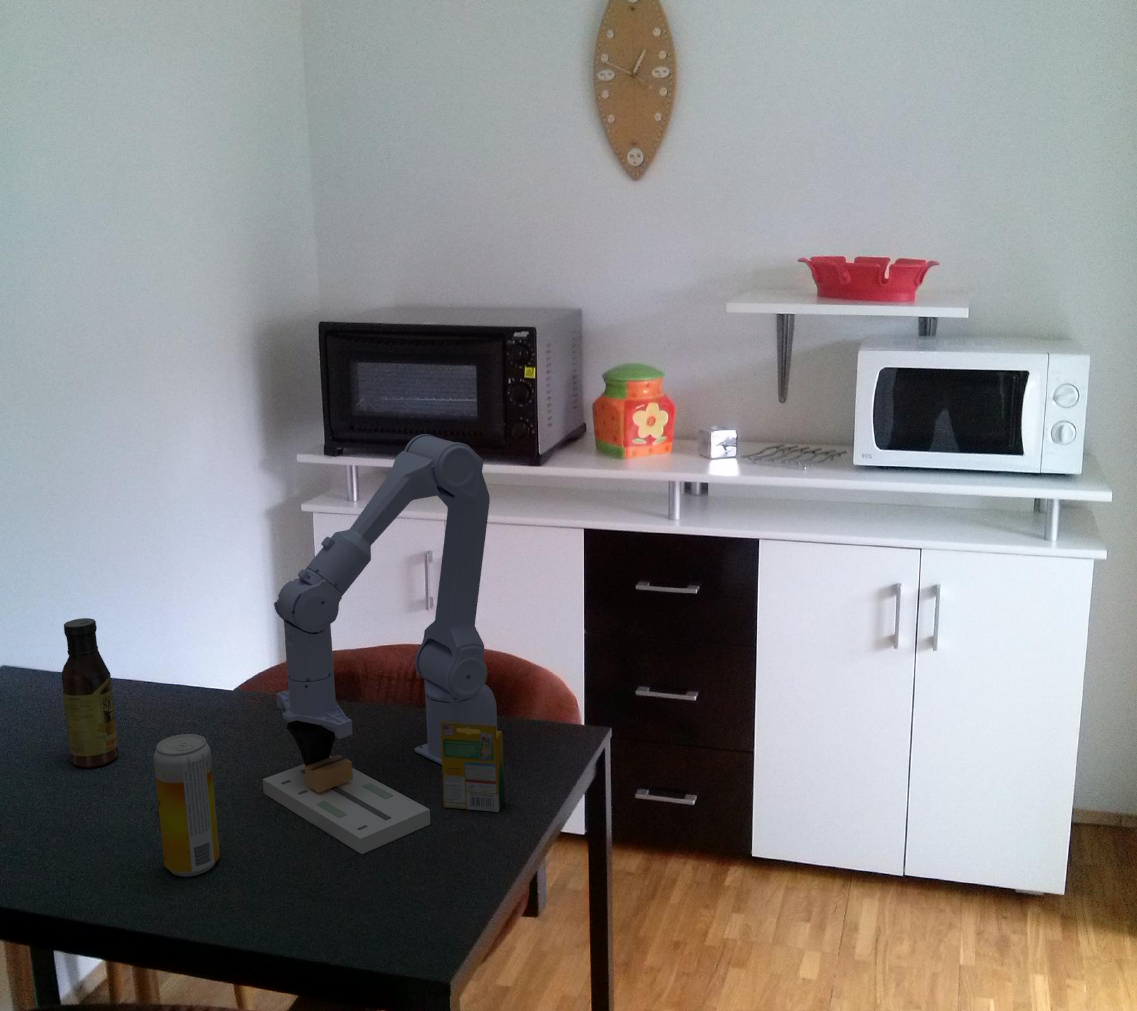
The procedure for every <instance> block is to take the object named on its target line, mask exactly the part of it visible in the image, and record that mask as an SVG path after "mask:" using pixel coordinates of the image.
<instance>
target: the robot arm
mask: <svg viewBox="0 0 1137 1011" xmlns="http://www.w3.org/2000/svg"><path fill="white" fill-rule="evenodd" d="M483 468H484V460H483V459H482V458H481V456H479V454H478V453H476V452H475V450H474V449H472V447H471V446H469V445H468V444H466V443H463V442H459V441H457V442H454V441H451V440H447V439H443V438H440V437H436V436H435V435H432V434H427V433H425V434H424V433H423V434H419V435H417V436H414V437H413V438H412V439H410V440H409V442H408V443H407V444H406V446H405V448H404V450H402V451H401V452H400V453H399V454H397V455H396V456H395V458H394V461H393V465H392V467H391V470H390V472H389V473H388V475H387V476H386V477H385V479H384V481H383V482H382V483H381V485H380V486H379V488H378V489H377V490H376V491H375V493H374V494H373V496H372V497H371V499H370V500H369V501H368V502H367V504H366V506H365V507H364V508H363V509H362V511H361V512H360V514H359V515H358V517H357V518H356V520H354V522H353V524H352V525H351V526H350V527H349V529H346V530H345V529H344V530H341V531H336V532H334V533H333V534H332V536H331V537H330V536H326V537H325V538H324V539H323V540H322V541H321V543H320V545H321V546H322V548H321V549H320V550H319V551H318V553H316V555H315V556H314V557H313V559H312V560H311V561H310V563H309V564H308V565H307V566H306V568H305V569H304V568H302V569H301V570H300V571H299V572H298V573H297V576H298V577H297V578H294V579H293V580H289V581H288V582H286V583H285V584H284V585H283V586H282V587H281V589H280V590H279V592H278V595H277V597H278V599H277V600H276V601H274V602H273V606H274V610H275V612H276V614H277V615H278V617H279V618H280V619H282V620H283V621H282V622H283V628H284V643H285V644H284V645H285V660H286V662H285V663H286V671H287V672H286V673H287V674H286V675H287V687H288V688H287V690H283V691H279V692H277V693H276V705H277V708H279V709H281V710H284V709H285V711H284V712H282V714H281V715H282V719H283V720H285V721H287V722H288V723H287V724H286V729H287V730H288V731H289V733H290V735H291V736H292V737H293V739H294V741H295V743H296V746H297V747H298V749H299V752H300V754H301V757H302V761H303V764H305V766H308V765H311V764H313V763H316V762H319V761H322V760H324V759H327V758H330V756H331V754H332V749H333V745H334V742H335V740H336V739H338V740H340V739H344V738H346V737H349V736H352V735H354V734H353V721H352V719H350V718H349V717H348V716H346V714H345V713H344V711H343V709H342V708H341V707H340V705H339V703H338V702H337V701H336V700H337V699H336V689H335V688H336V687H335V686H336V685H335V670H334V659H333V658H334V654H333V653H334V652H333V641H332V639H333V638H332V626H331V624H332V623H334V622H335V621H336V620H337V619H338V618H337V617H338V615H339V610H340V601H342V599H343V596H345V593H346V592H347V591H348V590H349V589H350V588H351V586H352V585H353V583H354V582H355V581H356V580H357V579H358V577H359V576H360V575H361V574H362V572H363V571H364V570H365V569H366V567H367V566H368V565H369V563H370V562H371V560H372V545H373V544H374V543H375V542H376V541H377V540H378V539H379V537H380V536H381V535H382V534H383V533H384V532H385V530H387V528H389V526H390V525H391V524H392V523H393V522H394V521H395V520H396V519H397V517H399V515H400V514H401V513H402V512H403V511H404V510H405V508H407V507H408V505H409V504H410V503H411V502H413V501H415V500H421V499H426V498H432V497H438V498H439V499H440V500H441V501H442V502H443V504H444V505H445V506H446V508H447V511H446V512H447V513H446V522H445V530H444V536H443V537H444V539H443V548H442V554H441V565H440V574H439V581H438V582H439V583H438V590H437V591H438V592H437V599H436V606H435V615H434V616H435V617H434V621H432V622H431V623H430V624H429V625H428V626H427V627H426V628H425V630H424V633H423V638H422V642H421V644H420V646H419V648H418V650H417V651H416V654H415V658H414V666H415V670H416V672H417V674H418V675H419V677H421V678H422V679H424V680H423V683H424V685H423V686H424V694H425V717H426V737H427V738H426V740H427V742H426V743H425V744H422V745H420V746H419V745H418V746H416V747H415V748H414V752H415V753H416V754H418V755H421V756H423V757H425V758H427V759H429V760H431V761H433V762H434V763H437V764H438V765H441V766H442V751H441V723H440V722H455V723H469V724H484V725H496V731H498V716H497V713H498V712H497V708H498V707H497V702H496V699H495V698H496V697H495V695H494V692H493V691H492V689H491V688H490V687H489V686H488V685H487V684H485V683H486V681H487V676H488V668H487V664H486V661H485V656H484V654H485V653H484V652H485V643H484V641H483V639H482V638H481V636H480V634H479V632H478V629H477V627H476V620H477V619H476V618H477V610H478V603H479V594H480V593H479V592H480V587H481V586H480V584H481V576H482V571H483V570H482V568H483V560H484V559H483V558H484V552H485V543H486V536H487V529H488V528H487V526H488V521H489V520H488V519H489V518H488V517H489V510H490V503H491V502H490V500H491V499H490V497H491V496H490V493H489V490H488V487H487V484H486V480H485V477H484V474H483ZM463 729H472V728H470V727H465V728H463ZM477 730H479V729H477Z"/></svg>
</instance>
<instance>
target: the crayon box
mask: <svg viewBox="0 0 1137 1011" xmlns="http://www.w3.org/2000/svg"><path fill="white" fill-rule="evenodd" d="M440 723H441V751H442V765H441V772H442V774H441V775H442V797H443V798H442V799H443V802H442V803H443V809H460V810H470V811H471V810H472V811H480V812H481V811H484V812H493V813H500V811H501V809H502V807H503V806H504V804H505V803H506V802H505V800H506V798H505V796H506V795H505V793H506V792H505V771H504V767H505V766H504V744H503V743H504V741H503V740H504V738H503V737H504V735H503V731H502V730H497V731H496V725H484V724H469V723H455V722H440ZM465 727H470V728H472V729H463V728H465ZM477 729H479V730H477Z"/></svg>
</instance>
